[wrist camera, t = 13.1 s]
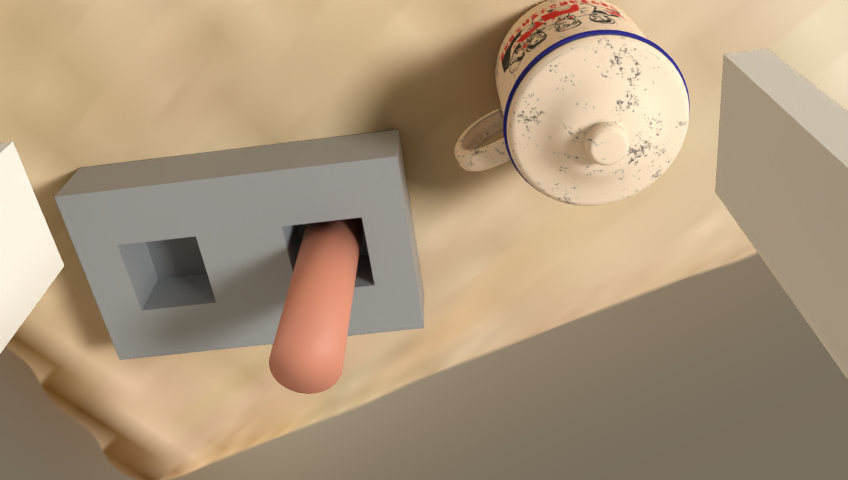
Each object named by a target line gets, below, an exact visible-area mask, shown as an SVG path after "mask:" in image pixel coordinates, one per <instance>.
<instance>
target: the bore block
mask: <svg viewBox="0 0 848 480" xmlns="http://www.w3.org/2000/svg"><path fill="white" fill-rule="evenodd" d="M54 198H55V200H56V203H57V205H58V208H59V210H60V213H61V215H62V218H63V220H64V223H65V225H66V228H67V230H68V233H69V235H70V238H71V240H72V243H73V245H74V248H75V250H76V253H77V255H78V258H79V260H80V263H81V265H82V268H83V270H84V272H85V275H86V277H87V280H88V282H89V285H90V287H91V290H92V292H93V295H94V297H95V300H96V302H97V305H98V307H99V310H100V312H101V315H102V317H103V320H104V322H105V325H106V327H107V330H108V332H109V335H110V337H111V340H112V342H113V345H114V347H115V350H116V352H117V355H118V357H119V360H124V359H133V358H143V357H152V356H162V355H171V354H181V353H190V352H200V351H209V350H219V349H228V348H238V347H247V346H257V345H266V344H274V340H275V336H276V333H277V329H278V325H279V322H280V318H281V314H282V311H283V307H284V303H285V300H286V296H287V293H288V289H289V285H290V282H291V278H292V274H293V271H294V267H295V263H296V260H297V256H298V252H299V249H300V245H301V241H302V238H303V234H304V230H305V227H306V224H308V223H317V222H326V221H334V220H343V219H352V218H361V221H362V225H363V231H362V238H361V245H360V252H359V258H358V265H357V272H356V279H355V286H354V293H353V299H352V306H351V313H350V320H349V327H348V334H347V336H352V335H361V334H371V333H380V332H390V331H399V330H409V329H418V328H424V291H423V285H422V278H421V272H420V265H419V259H418V252H417V246H416V239H415V233H414V226H413V220H412V213H411V207H410V200H409V194H408V187H407V181H406V174H405V168H404V161H403V155H402V148H401V142H400V135H399V129H396V130H388V131H380V132H371V133H363V134H355V135H347V136H338V137H330V138H322V139H313V140H305V141H297V142H289V143H280V144H272V145H264V146H256V147H247V148H239V149H231V150H223V151H214V152H206V153H198V154H189V155H181V156H173V157H165V158H156V159H148V160H140V161H132V162H123V163H115V164H107V165H98V166H90V167H82V168H79V169H78V170H77V171H76V173H75V174H74V175H73V176H72V177H71V178H70V179H69V181H68V182H67V183H66V184H65V185H64V186H63V187H62V189H61V190H60V191H59V192H58V193H57V194H56V195H55V197H54Z"/></svg>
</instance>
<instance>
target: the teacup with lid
mask: <svg viewBox="0 0 848 480" xmlns="http://www.w3.org/2000/svg"><path fill="white" fill-rule="evenodd" d="M495 77H496V86H497V91H498V95H499V99H500V104H501V107H500V108H498V109H496V110H494V111H492V112H490V113H488V114H486V115H485V116H483V117H481V118H480V119H478V120H477V121H475V122H474V123H473V124H471V125H470V126H469V127H468V128H467V129H466V130H465V131H464V132H463V133H462V135H461V136H460V137H459V139H458V141H457V143H456V146H455V150H454V151H455V157H456V159H457V161H458V163H459V164H460V166H461V167H462V168H463V169H465V170H467V171H483V170H487V169H490V168H493V167H496V166H498V165H500V164H503V163H505V162H507V161H509V160H511V161H512V163H513V165H514V167H515V168H516V170H517V171H518V172H519V174H520V175H521V176H522V177H523V178H524V180H525V181H527V182H528V183H529V184H530V185H531V186H532V187H534V188H535V189H536V190H538V191H539V192H541V193H543V194H544V195H546V196H548V197H550V198H552V199H555V200H557V201H560V202H564V203H568V204H573V205H581V206H596V205H604V204H610V203H614V202H617V201H621V200H623V199H626V198H629V197H631V196H633V195H635V194H637V193H639V192H640V191H642V190H644V189H645V188H647V187H648V186H649V185H651V184H652V183H653V182H654V181H656V180H657V179H658V178H659V177H660V176H661V175H662V174H663V173H664V172H665V171H666V170H667V168H668V167H669V166H670V165H671V163H672V162H673V161H674V159H675V158H676V156H677V154H678V152H679V151H680V148H681V146H682V144H683V142H684V139H685V136H686V132H687V128H688V122H689V113H690V103H689V95H688V89H687V86H686V83H685V80H684V78H683V75H682V73H681V71H680V70H679V68H678V66H677V65H676V63H675V62H674V61H673V59H672V58H671V57H670V56H669V55H668V54H667V53H666V52H665V51H664V50H663V49H662V48H660V47H659V46H658V45H656V44H655V43H653V42H651V41H650V40H648V39H647V38H646V36H645V35H644V34H643V33H642V32H641V31H640V29H639V28H638V27H637V26H636V25H635V24H634V22H633V21H632V20H631V19H630V18H629V17H628V16H627V15H626V14H625V13H624V12H623V11H622V10H621V9H619V8H618V7H616V6H615V5H613V4H611V3H610V2H608V1H605V0H547V1H545V2H543V3H540V4H539V5H537V6H535V7H533V8H532V9H530V10H529V11H528V12H526V13H525V14H524V15H523V16H522V17H521V18H520V19H519V20H518V21H517V22H516V23H515V24H514V25H513V26H512V28H511V29H510V30H509V32H508V33H507V35H506V37H505V39H504V40H503V43H502V45H501V47H500V50H499V53H498V57H497V62H496V72H495ZM502 130H503V132H504V138H502V139H500V140H498V141H495V142H493V143H491V144H489V145H486V146H484V147H481V148H478V147H479V146H480V145H481V144H482V143H483V142H484V141H486V140H487V139H488V138H490V137H491V136H493V135H495V134H496V133H498V132H500V131H502Z"/></svg>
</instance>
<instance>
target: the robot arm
mask: <svg viewBox="0 0 848 480" xmlns="http://www.w3.org/2000/svg"><path fill="white" fill-rule="evenodd" d="M715 192H716V194H717V195H718V197H719V198H720V199H721V201H722V202H723V204H724V205H725V206H726V208H727V209H728V211H729V212H730V214H731V215H732V216H733V218H734V219H735V221H736V222H737V223H738V225H739V226H740V228H741V229H742V231H743V232H744V233H745V235H746V236H747V238H748V239H749V240H750V242H751V243H752V245H753V246H754V248H755V249H756V250H757V252H758V253H759V255H760V256H761V257H762V259H763V260H764V262H765V263H766V264H767V266H768V267H769V269H770V270H771V272H772V273H773V274H774V276H775V277H776V279H777V280H778V281H779V283H780V284H781V286H782V287H783V288H784V290H785V291H786V293H787V294H788V295H789V297H790V298H791V300H792V301H793V303H794V304H795V305H796V307H797V308H798V310H799V311H800V312H801V314H802V315H803V317H804V318H805V320H806V321H807V322H808V324H809V325H810V327H811V328H812V330H813V331H814V332H815V334H816V335H817V337H818V338H819V339H820V341H821V342H822V344H823V345H824V346H825V348H826V349H827V351H828V352H829V354H830V355H831V356H832V358H833V359H834V361H835V362H836V363H837V365H838V366H839V368H840V369H841V371H842V372H843V373H844V375H845V376H846V378H847V379H848V111H846V110H845V109H844V108H843V107H841V106H840V105H839V104H838V103H836V102H835V101H834V100H832V99H831V98H830V97H829V96H827V95H826V94H825V93H824V92H822V91H821V90H820V89H818V88H817V87H816V86H815V85H813V84H812V83H811V82H810V81H808V80H807V79H806V78H804V77H803V76H802V75H801V74H799V73H798V72H797V71H796V70H794V69H793V68H792V67H790V66H789V65H788V64H787V63H785V62H784V61H783V60H781V59H780V58H779V57H778V56H776V55H775V54H774V53H773V52H771V51H770V50H769V49H760V50H752V51H744V52H736V53H727V54H724V55H723V72H722V89H721V105H720V122H719V139H718V155H717V172H716V189H715ZM63 267H64V264H63V261H62V259H61V257H60V254H59V252H58V249H57V247H56V245H55V242H54V240H53V237H52V235H51V233H50V230H49V228H48V225H47V223H46V220H45V218H44V216H43V213H42V211H41V208H40V206H39V204H38V201H37V199H36V196H35V194H34V192H33V189H32V187H31V184H30V182H29V179H28V177H27V175H26V172H25V170H24V167H23V165H22V163H21V160H20V158H19V155H18V153H17V151H16V148H15V146H14V143H13V142H7V143H0V353H1V352H2V350H3V349H4V348H5V346H6V345H7V344H8V342H9V341H10V339H11V338H12V337H13V335H14V334H15V333H16V331H17V330H18V328H19V327H20V326H21V324H22V323H23V322H24V320H25V319H26V318H27V316H28V315H29V313H30V312H31V311H32V309H33V308H34V307H35V305H36V304H37V302H38V301H39V300H40V298H41V297H42V296H43V294H44V293H45V292H46V290H47V289H48V287H49V286H50V285H51V283H52V282H53V281H54V279H55V278H56V276H57V275H58V274H59V272H60V271H61V270H62V268H63Z"/></svg>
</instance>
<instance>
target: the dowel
mask: <svg viewBox="0 0 848 480" xmlns="http://www.w3.org/2000/svg"><path fill="white" fill-rule="evenodd" d="M362 231H363V225H362V221H361V218H352V219H343V220H334V221H326V222H317V223H308V224H306V227H305V230H304V234H303V238H302V241H301V245H300V249H299V252H298V256H297V260H296V263H295V267H294V271H293V274H292V278H291V282H290V285H289V289H288V293H287V296H286V300H285V303H284V307H283V311H282V314H281V318H280V322H279V325H278V329H277V333H276V336H275V340H274V344H273V347H272V351H271V355H270V359H269V366H270V370H271V373H272V375H273V376H274V378H275V379H276V380H277V381H278V382H279V383H280V384H281V385H282V386H284V387H286V388H287V389H290V390H292V391H295V392H299V393H307V394H310V393H318V392H322V391H325V390H327V389H329V388H330V387H332V386H333V385H334V384H335V383H336V382H337V381H338V380H339V378H340V376H341V373H342V368H343V361H344V354H345V347H346V341H347V334H348V327H349V320H350V313H351V306H352V299H353V293H354V286H355V279H356V272H357V265H358V258H359V252H360V245H361V238H362Z"/></svg>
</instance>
